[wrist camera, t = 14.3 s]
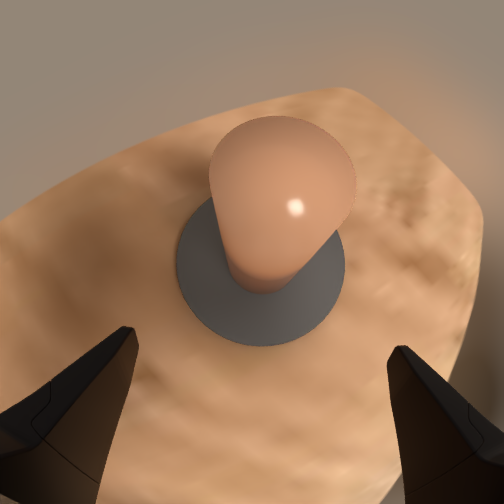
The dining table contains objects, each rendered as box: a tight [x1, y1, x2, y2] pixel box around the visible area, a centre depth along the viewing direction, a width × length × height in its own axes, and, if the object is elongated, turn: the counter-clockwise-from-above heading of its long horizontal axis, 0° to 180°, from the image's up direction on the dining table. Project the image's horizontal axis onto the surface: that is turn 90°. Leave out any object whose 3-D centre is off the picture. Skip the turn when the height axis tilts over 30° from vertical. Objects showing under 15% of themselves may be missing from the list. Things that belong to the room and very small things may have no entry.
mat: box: [177, 197, 345, 346], centre depth 22 cm, size 13×13×1 cm
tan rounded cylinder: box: [209, 116, 357, 294], centre depth 16 cm, size 5×5×12 cm
